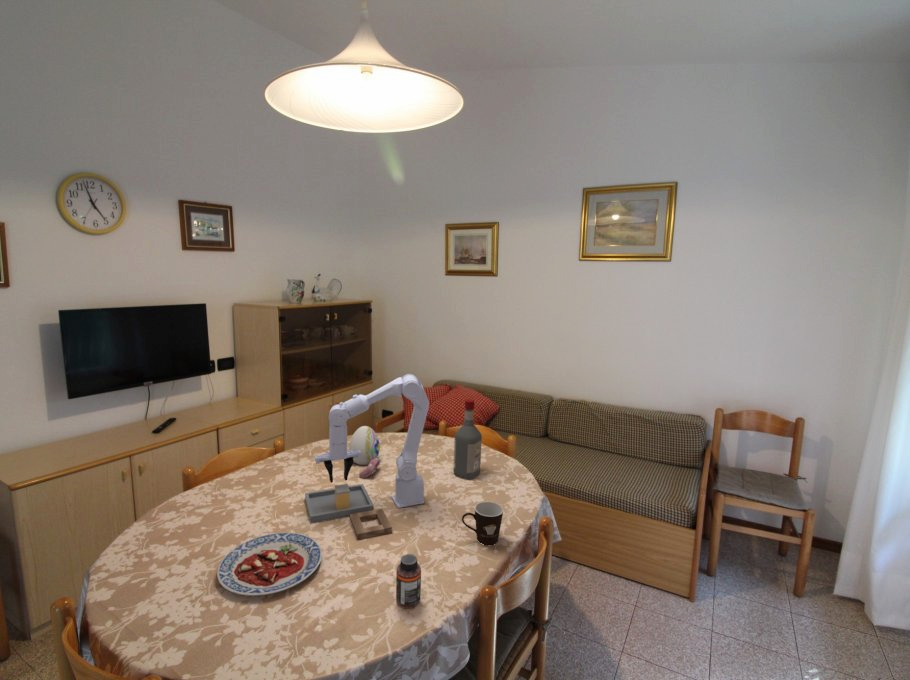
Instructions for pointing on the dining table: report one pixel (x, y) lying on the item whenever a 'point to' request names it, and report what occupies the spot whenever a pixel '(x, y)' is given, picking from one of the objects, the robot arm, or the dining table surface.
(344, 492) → the block
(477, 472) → the liquor
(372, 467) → the video game controller
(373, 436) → the decorative egg
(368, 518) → the socket
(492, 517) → the coffee mug
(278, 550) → the ceramic plate
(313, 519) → the parts tray
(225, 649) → the dining table surface
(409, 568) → the supplement bottle
